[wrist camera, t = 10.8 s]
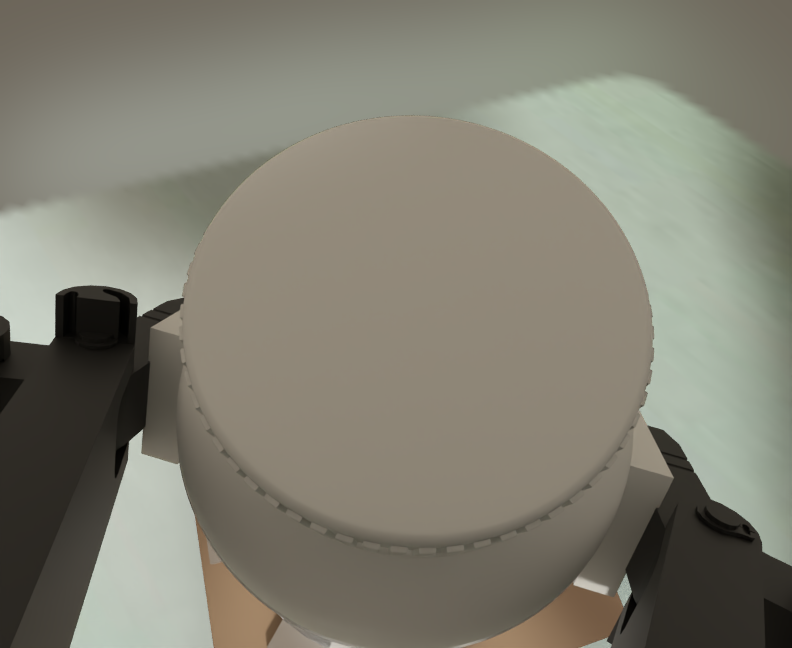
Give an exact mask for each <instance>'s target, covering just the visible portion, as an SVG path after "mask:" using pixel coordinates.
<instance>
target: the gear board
mask: <svg viewBox="0 0 792 648" xmlns="http://www.w3.org/2000/svg"><path fill="white" fill-rule="evenodd" d="M195 519H196V517H195ZM196 526H197V533H198V540H199V547H200V554H201V561H202V568H203V575H204V582H205V589H206V596H207V603H208V610H209V617H210V624H211V631H212V638H213V646H214V648H353V647H349V646H345V645H342V644H339V643H335V642H332V641H329V640H327V639H324V638H322V637H319V636H317V635H314V634H312V633H310V632H308V631H306V630H304V629H302V628H300V627H298V626H296V625H294V624H292V623H291V622H289V621H287V620H286V619H284V618H282V617H281V616H279V615H278V614H276V613H275V612H273V611H272V610H271V609H269V608H268V607H267V606H265V605H264V604H263V603H262V602H260V601H259V600H258V599H257V598H256V597H254V596H253V595H252V594H251V593H250V592H249V591H248V590H247V589H246V588H245V587H244V586H243V585H242V584H241V583H240V582H239V581H238V580H237V579H236V578H235V577H234V576H233V575H232V573H231V572H230V571H229V570H228V569H227V567H226V566H225V565H224V564H223V562H222V561H221V560H220V558H219V557H218V555H217V554H216V553H215V551H214V550H213V548H212V547H211V545H210V543H209V542H208V540H207V538H206V537H205V535H204V533H203V531H202V529H201V527H200V525H199V523H198V521H197V519H196ZM622 610H623V605H622V603H621V600H620V598H619V595H618V593H617V592H616V594H615V596H614V597H611V596H607V595H604V594H601V593H598V592H594V591H591V590H588V589H585V588H581V587H578V586H575V585H573V582H572V584H571V585H570V586H569V587H568V588H567V589H566V590H565V591H564V592H563V593H562V594H560V595H559V596H558V597H557V598H556V599H555V600H554V601H553V602H551V603H550V604H549V605H548V606H546V607H545V608H544V609H542V610H541V611H540V612H538V613H537V614H535V615H534V616H532V617H531V618H529V619H528V620H526V621H525V622H523V623H521V624H519V625H518V626H516V627H514V628H512V629H510V630H508V631H506V632H504V633H502V634H500V635H497V636H495V637H493V638H490V639H487V640H485V641H482V642H479V643H476V644H473V645H469V646H465V647H461V648H579V647H582V646H585V645H588V644H591V643H593V642H596V641H599V640H602V639H605V638H607V637H609V635H610V634H611V632H612V630H613V628H614V626H615V624H616V622H617V620H618V618H619V616H620V614H621V612H622Z"/></svg>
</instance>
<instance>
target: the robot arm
mask: <svg viewBox="0 0 792 648" xmlns="http://www.w3.org/2000/svg"><path fill="white" fill-rule="evenodd" d="M181 304H184V298H180V299H176V300H171V301H167V302H165V303H163V304H161V305H159V306H157V307H156V308H154V309H153V310H150V311H148V312H146V313H145V314H143V316H139V317H137V305H138V303H137V298H136V297H135V296H133V295H132V294H131V293H129V292H126V291H124V290H121V289H117V288H112V287H106V286H91V285H90V286H77V287H72V288H68V289H64V290H62V291H60V292H59V293H57V294H56V308H55V338H54V339H53V341H52V342H51V344H50V345H40V344H31V343H22V342H13V341H10V324H9V321H8V320H6V319H5V318H4V317H2V316H0V648H70V644H71V641H72V638H73V635H74V631H75V628H76V625H77V622H78V619H79V615H80V612H81V609H82V606H83V602H84V599H85V596H86V593H87V590H88V586H89V583H90V580H91V577H92V573H93V570H94V567H95V564H96V561H97V557H98V554H99V551H100V548H101V544H102V541H103V538H104V535H105V532H106V528H107V525H108V522H109V519H110V516H111V512H112V509H113V506H114V503H115V499H116V496H117V493H118V490H119V487H120V483H121V480H122V477H123V474H124V470H125V467H126V464H127V461H128V449H129V441H130V440H131V439H132V438H133V437H134V436H135V435H137V434H138V433H139V432H140V431H141V430H142V429H143V438H142V451H141V453H142V454H145V455H148V456H152V457H155V458H158V459H162V460H165V461H168V462H171V463H175V464H178V463H179V456H178V447H177V431H176V412H177V398H178V390H179V384H180V378H181V373H182V369H183V365H184V364H183V363H182V361H181V353H180V350H181V349H182V348H184V346H183V343H182V342H181V341H180V340H179V327H180V326H182V320H181V318H180V307H181ZM638 413H639V414H640V418H639V420H638V422H637V425H636V427H635V428H634V432H633V449H632V457H631V464H630V470H629V474H628V479H627V483H626V487H625V490H624V493H623V497H622V500H621V502H620V505H619V508H618V510H617V513H616V515H615V517H614V520H613V522H612V524H611V526H610V528H609V530H608V532H607V534H606V536H605V538H604V539H603V541H602V543H601V545H600V546H599V548H598V550H597V551H596V553H595V554H594V556H593V557H592V559H591V560H590V562H589V563H588V564H587V566H586V567H585V568H584V570H583V571H582V572H581V573H580V575H579V576H578V577H577V578H576V579H575V580H574V581H573V585H575V586H578V587H581V588H585V589H588V590H591V591H594V592H598V593H601V594H604V595H607V596H611V597H614V596H615V594H616V592H617V590H618V588H619V586H620V584H621V582H622V580H623V578H624V576H625V574H626V573H627V577H628V580H629V583H630V587H631V590H632V593H631V595H630V597H629V599H628V601H627V603H626V604H625V606H624V608H623V610H622V612H621V614H620V616H619V618H618V620H617V622H616V624H615V626H614V628H613V630H612V632H611V634H610V635H609V637H608V639H607V642H609V643H611V644H612V646H611V648H792V566H790V565H788V564H786V563H784V562H782V561H780V560H777V559H775V558H773V557H771V556H769V555H767V554H766V553H764V552H762V542H761V539H760V536H759V534H758V532H757V531H756V530H755V529H754V528H753V527H752V525H751V524H750V523H749V522H748V521H746V520H745V519H744V518H743V517H741V516H740V515H739V514H738V513H736V512H735V511H733V510H731V509H729V508H728V507H726V506H724V505H722V504H721V503H718V502H715V501H713V500H711V499H710V497H709V495H708V494H707V492H706V490H705V488H704V487H703V485H702V483H701V482H700V480H699V478H698V476H697V475H696V473H694V469H693V468H692V466H691V464H690V463H689V461H687V457H686V456H685V454H684V452H683V450H682V449H681V447H680V445H679V444H678V443H677V442H676V441H675V440H673V439H672V438H671V437H670V436H669V435H668V434H667V433H666V432H665V431H664V430H661V429H658V428H654V427H651V426H647V424H646V422H645V420H644V418H643V417H642V415H641V413H640V411H639V410H638Z"/></svg>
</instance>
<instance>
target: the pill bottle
mask: <svg viewBox="0 0 792 648" xmlns="http://www.w3.org/2000/svg"><path fill="white" fill-rule="evenodd" d="M194 254H195V257H194V260H193V262H191V264H190V267H189V270H188V273H187V275H188V280H187V283H185V284H184V289H183V294H182V296H183V297H184V304H181V307H180V318H181V320H182V326H180V327H179V340H180V341H181V342H182V343H183V346H184V348H182V349H181V350H180V353H181V361H182V363H183V364H184V365H183V369H182V373H181V378H180V384H179V390H178V398H177V412H176V431H177V447H178V456H179V463H180V468H181V473H182V478H183V482H184V486H185V489H186V492H187V496H188V499H189V501H190V504H191V507H192V509H193V512H194V514H195V517H196V519H197V521H198V523H199V525H200V527H201V529H202V531H203V533H204V535H205V537H206V538H207V540H208V542H209V543H210V545H211V547H212V548H213V550H214V551H215V553H216V554H217V555H218V557H219V558H220V560H221V561H222V562H223V564H224V565H225V566H226V567H227V569H228V570H229V571H230V572H231V573H232V575H233V576H234V577H235V578H236V579H237V580H238V581H239V582H240V583H241V584H242V585H243V586H244V587H245V588H246V589H247V590H248V591H249V592H250V593H251V594H252V595H253V596H254V597H256V598H257V599H258V600H259V601H260V602H262V603H263V604H264V605H265V606H267V607H268V608H269V609H271V610H272V611H273V612H275V613H276V614H278V615H279V616H281V617H282V618H284V619H286V620H287V621H289V622H291V623H292V624H294V625H296V626H298V627H300V628H302V629H304V630H306V631H308V632H310V633H312V634H314V635H317V636H319V637H322V638H324V639H327V640H329V641H332V642H335V643H339V644H342V645H345V646H349V647H353V648H461V647H465V646H469V645H473V644H476V643H479V642H482V641H485V640H487V639H490V638H493V637H495V636H497V635H500V634H502V633H504V632H506V631H508V630H510V629H512V628H514V627H516V626H518V625H519V624H521V623H523V622H525V621H526V620H528V619H529V618H531V617H532V616H534V615H535V614H537V613H538V612H540V611H541V610H542V609H544V608H545V607H546V606H548V605H549V604H550V603H551V602H553V601H554V600H555V599H556V598H557V597H558V596H559V595H560V594H562V593H563V592H564V591H565V590H566V589H567V588H568V587H569V586H570V585H571V584H572V582H573V581H574V580H575V579H576V578H577V577H578V576H579V575H580V573H581V572H582V571H583V570H584V568H585V567H586V566H587V564H588V563H589V562H590V560H591V559H592V557H593V556H594V554H595V553H596V551H597V550H598V548H599V546H600V545H601V543H602V541H603V539H604V538H605V536H606V534H607V532H608V530H609V528H610V526H611V524H612V522H613V520H614V517H615V515H616V513H617V510H618V508H619V505H620V502H621V500H622V497H623V493H624V490H625V487H626V483H627V479H628V474H629V470H630V464H631V457H632V449H633V432H634V428H635V427H636V425H637V422H638V420H639V418H640V414H639V413H638V410H639V408H641V407H642V406H644V404H645V401H646V397H647V394H648V393H647V392H646V391H645V389H646V386H647V385H648V384H650V381H651V375H652V370H650V365H651V362H653V359H654V348H653V347H652V341H653V339H654V327H653V326H652V317H653V316H652V310H651V305H650V303H649V297H648V296H649V295H648V291H647V288H646V284H645V281H644V278H643V275H642V272H641V269H640V266H639V263H638V261H637V259H636V256H635V254H634V252H633V250H632V247H631V245H630V244H629V242H628V240H627V238H626V236H625V234H624V233H623V231H622V229H621V228H620V226H619V225H618V223H617V222H616V220H615V219H614V217H613V216H612V214H611V213H610V212H609V210H608V209H607V208H606V207H605V205H604V204H603V203H602V202H601V201H600V199H599V198H598V197H597V196H596V195H595V194H594V193H593V192H592V191H591V190H590V189H589V188H588V187H587V186H586V185H585V184H584V183H583V182H582V181H581V180H580V179H579V178H578V177H576V176H575V175H574V174H573V173H572V172H571V171H569V170H568V169H567V168H565V167H564V166H563V165H561V164H560V163H559V162H557V161H556V160H554V159H553V158H551V157H550V156H548V155H547V154H545V153H544V152H542V151H540V150H539V149H537V148H535V147H533V146H531V145H529V144H527V143H525V142H523V141H521V140H519V139H517V138H515V137H513V136H510V135H508V134H505V133H503V132H500V131H497V130H494V129H492V128H488V127H485V126H482V125H478V124H474V123H470V122H466V121H461V120H456V119H450V118H443V117H433V116H413V115H408V116H388V117H379V118H372V119H366V120H360V121H356V122H352V123H348V124H344V125H340V126H337V127H334V128H331V129H328V130H325V131H322V132H320V133H317V134H315V135H312V136H310V137H308V138H306V139H304V140H302V141H300V142H298V143H296V144H294V145H292V146H290V147H288V148H287V149H285V150H283V151H282V152H280V153H279V154H277V155H276V156H274V157H273V158H271V159H270V160H268V161H267V162H266V163H264V164H263V165H262V166H260V167H259V168H258V169H257V170H256V171H254V172H253V173H252V174H251V175H250V176H249V177H248V178H247V179H246V180H244V181H243V182H242V183H241V184H240V185H239V187H238V188H237V189H236V190H235V191H234V192H233V193H232V194H231V195H230V197H229V198H228V199H227V200H226V202H225V203H224V204H223V205H222V207H221V208H220V210H219V211H218V212H217V214H216V215H215V217H214V218H213V220H212V222H211V223H210V225H209V226H208V228H207V229H206V231H205V233H204V236H203V238H202V240H201V242H200V243H199V244H198V247H197V249H196V251H195V253H194Z"/></svg>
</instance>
